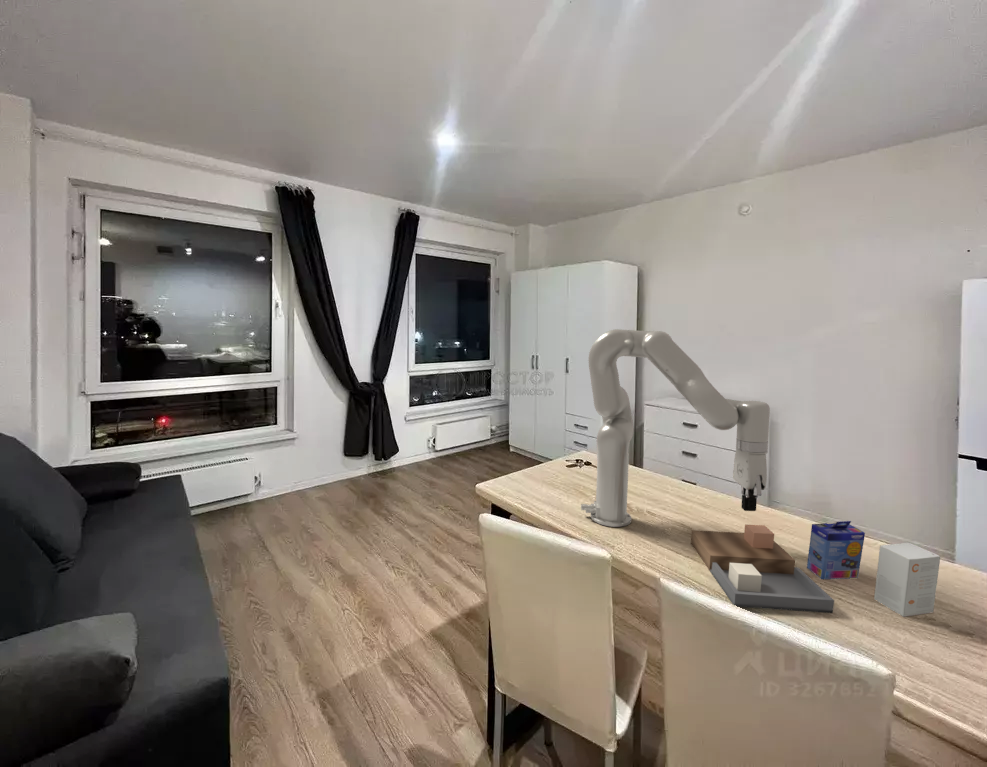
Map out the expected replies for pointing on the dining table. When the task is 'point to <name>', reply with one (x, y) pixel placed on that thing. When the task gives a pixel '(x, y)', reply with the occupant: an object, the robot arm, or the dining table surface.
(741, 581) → the cream block
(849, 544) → the ink cartridge box
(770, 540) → the terracotta block
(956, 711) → the dining table surface
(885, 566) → the small box
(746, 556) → the bench plate
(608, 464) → the robot arm
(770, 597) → the tray
